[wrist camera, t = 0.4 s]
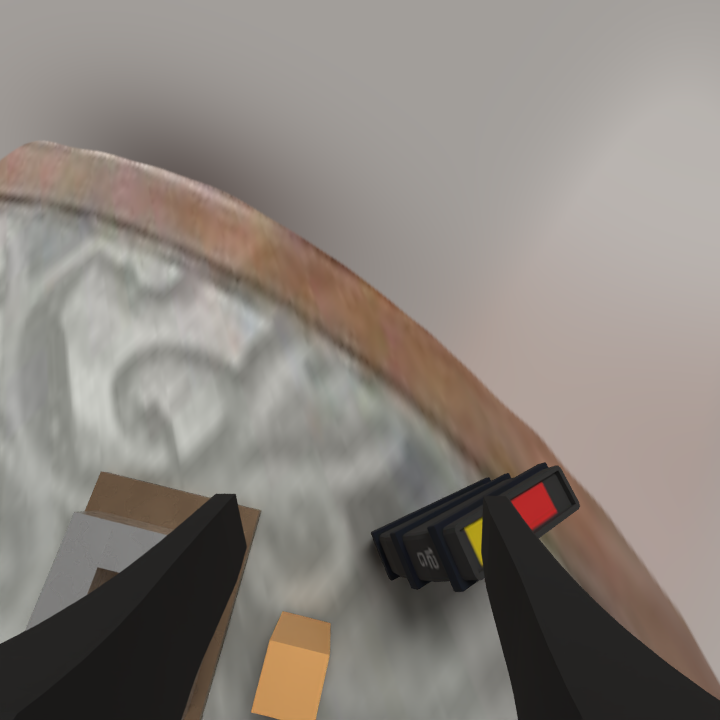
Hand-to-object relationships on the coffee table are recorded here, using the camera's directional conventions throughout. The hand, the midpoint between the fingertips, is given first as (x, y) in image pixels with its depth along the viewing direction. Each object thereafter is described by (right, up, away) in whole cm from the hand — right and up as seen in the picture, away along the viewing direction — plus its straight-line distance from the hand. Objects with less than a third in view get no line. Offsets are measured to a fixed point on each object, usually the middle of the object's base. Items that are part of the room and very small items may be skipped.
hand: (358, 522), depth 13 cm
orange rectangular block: (-5, -18, +23) cm, 29 cm away
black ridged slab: (+8, -9, +26) cm, 29 cm away
